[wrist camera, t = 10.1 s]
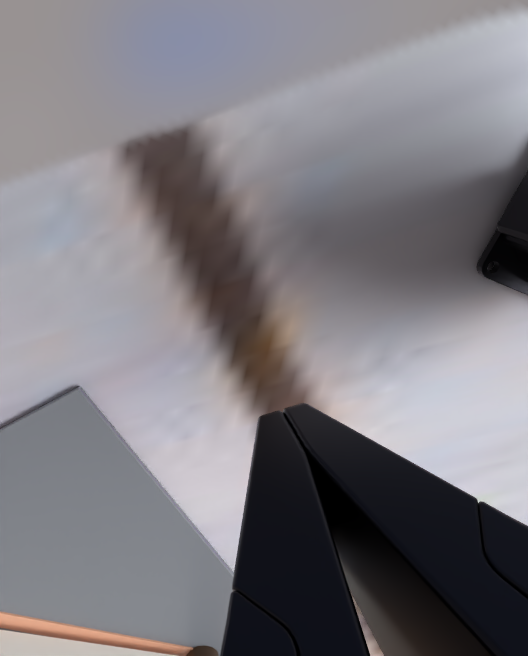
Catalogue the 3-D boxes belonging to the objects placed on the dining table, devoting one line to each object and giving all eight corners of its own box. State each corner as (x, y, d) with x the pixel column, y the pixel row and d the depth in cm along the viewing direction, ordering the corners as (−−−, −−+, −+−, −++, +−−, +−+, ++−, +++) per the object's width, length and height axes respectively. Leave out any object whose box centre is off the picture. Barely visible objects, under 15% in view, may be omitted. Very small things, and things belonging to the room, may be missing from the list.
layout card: (352, 716, 32) (353, 723, 31) (116, 807, 34) (114, 814, 34) (79, 386, 20) (76, 390, 20) (-242, 558, 23) (-250, 564, 23)
